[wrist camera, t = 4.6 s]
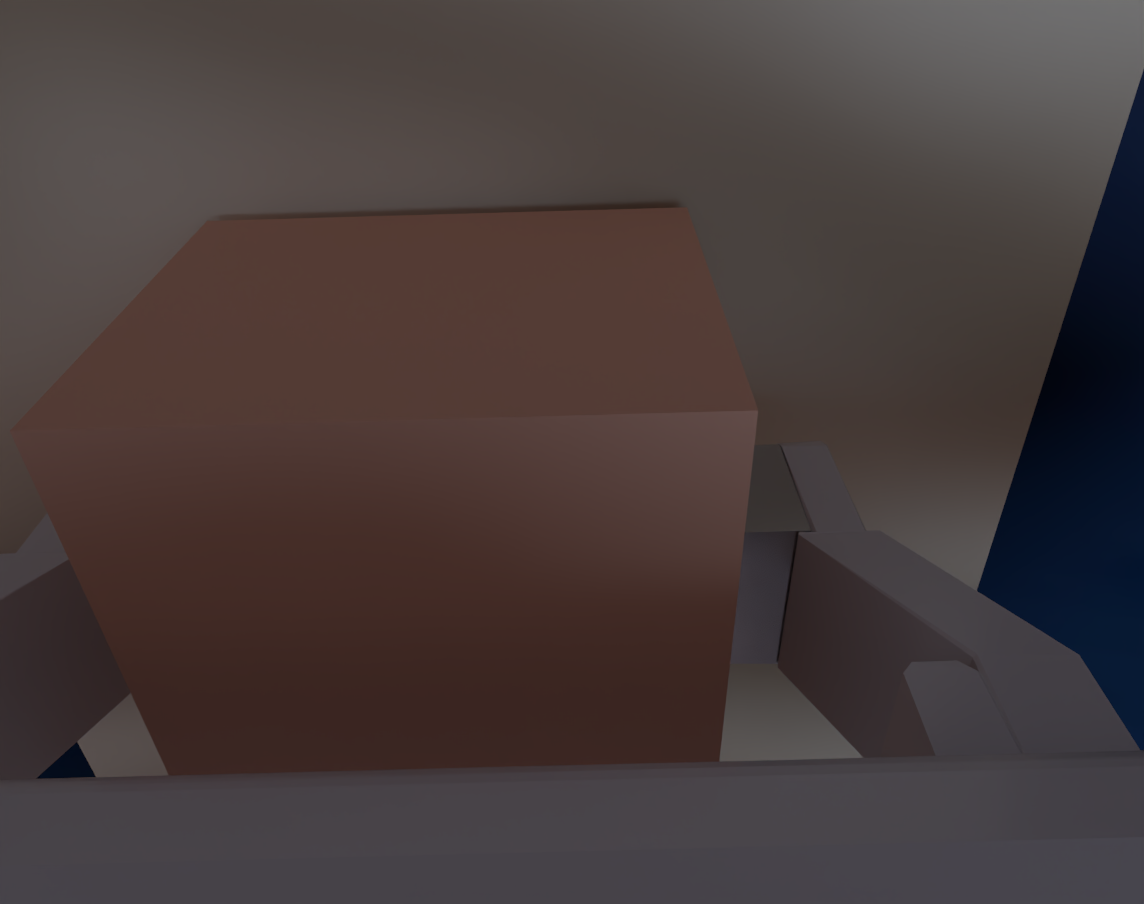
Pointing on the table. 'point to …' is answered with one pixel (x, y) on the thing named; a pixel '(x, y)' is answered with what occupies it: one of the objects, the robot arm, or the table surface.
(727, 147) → the board
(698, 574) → the stub
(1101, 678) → the table surface
